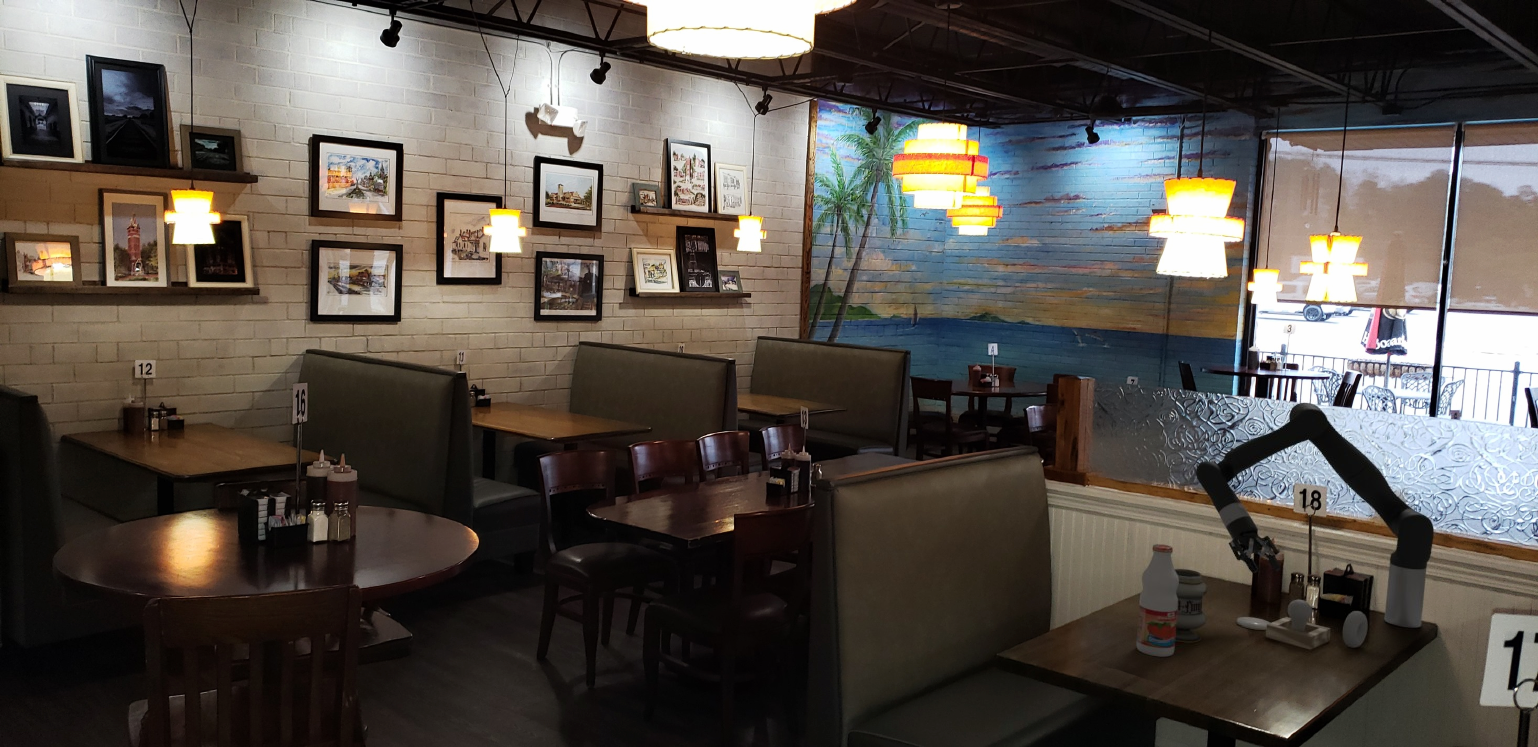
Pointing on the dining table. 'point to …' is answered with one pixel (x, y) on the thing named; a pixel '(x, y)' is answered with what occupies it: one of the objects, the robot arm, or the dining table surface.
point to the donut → (1355, 629)
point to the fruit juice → (1158, 605)
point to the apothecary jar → (1189, 605)
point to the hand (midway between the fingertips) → (1266, 570)
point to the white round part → (1252, 623)
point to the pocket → (1298, 634)
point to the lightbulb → (1299, 614)
